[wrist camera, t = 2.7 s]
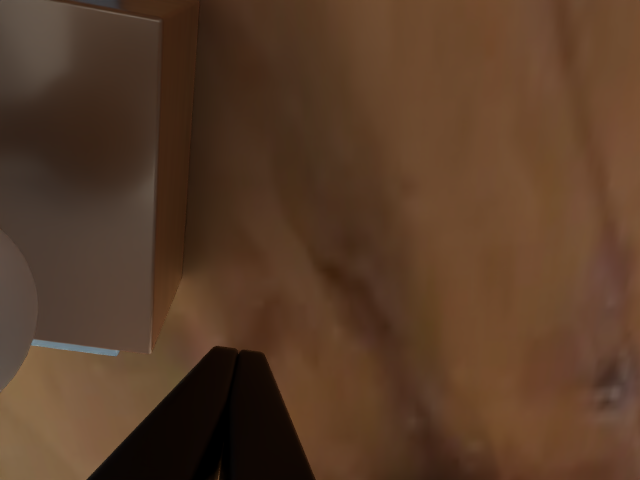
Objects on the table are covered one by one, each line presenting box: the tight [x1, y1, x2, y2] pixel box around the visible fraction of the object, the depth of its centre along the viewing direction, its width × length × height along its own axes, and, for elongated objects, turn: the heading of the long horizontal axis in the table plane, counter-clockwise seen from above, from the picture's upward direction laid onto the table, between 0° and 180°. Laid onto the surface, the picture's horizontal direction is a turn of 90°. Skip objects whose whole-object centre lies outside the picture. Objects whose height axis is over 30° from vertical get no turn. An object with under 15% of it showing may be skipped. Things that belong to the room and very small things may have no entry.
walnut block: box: [0, 0, 200, 354], centre depth 15 cm, size 6×9×4 cm, turn 170°
